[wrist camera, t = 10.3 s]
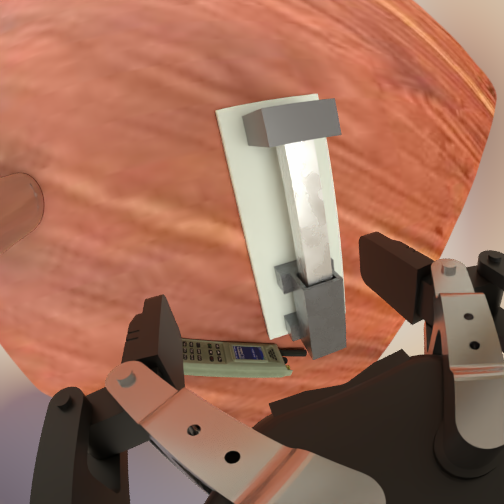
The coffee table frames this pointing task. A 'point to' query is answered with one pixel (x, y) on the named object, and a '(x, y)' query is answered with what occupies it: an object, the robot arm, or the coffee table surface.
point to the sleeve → (314, 311)
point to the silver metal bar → (306, 211)
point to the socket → (291, 123)
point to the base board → (271, 207)
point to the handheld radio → (235, 359)
